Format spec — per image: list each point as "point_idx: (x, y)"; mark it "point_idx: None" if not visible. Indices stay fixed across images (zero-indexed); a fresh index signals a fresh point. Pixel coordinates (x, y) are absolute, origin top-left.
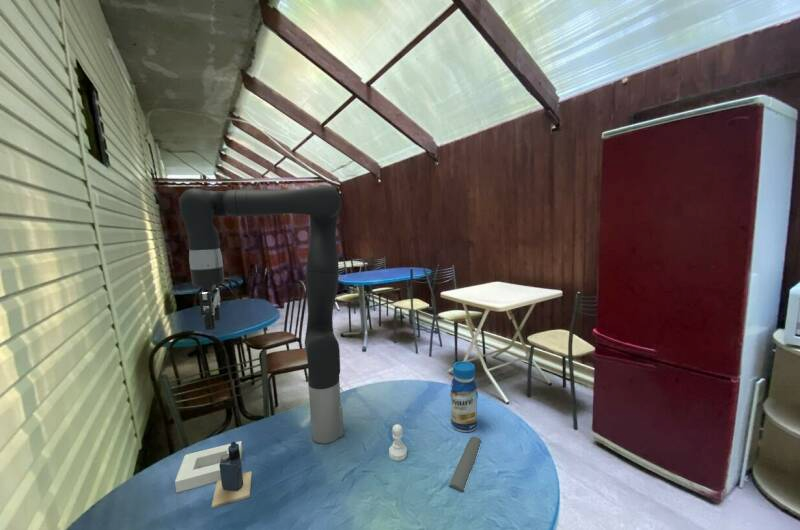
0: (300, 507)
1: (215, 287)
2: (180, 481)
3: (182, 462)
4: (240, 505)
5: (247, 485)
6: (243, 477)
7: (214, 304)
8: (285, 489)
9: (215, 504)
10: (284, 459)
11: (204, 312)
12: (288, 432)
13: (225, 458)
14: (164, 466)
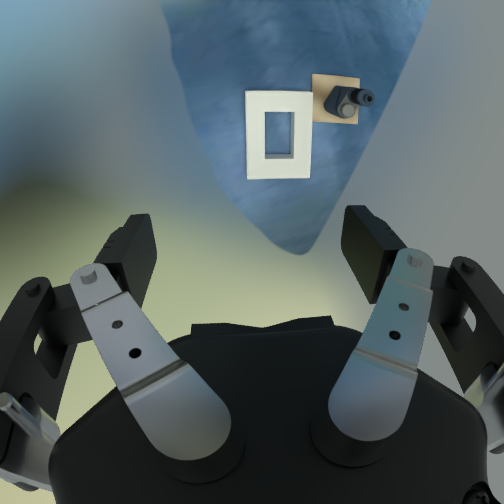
0: (398, 27)
1: (132, 485)
2: (309, 170)
3: (266, 178)
4: None
5: (341, 80)
6: (321, 85)
7: (428, 300)
8: (364, 34)
9: (356, 119)
10: (299, 25)
11: (466, 310)
12: (222, 16)
13: (353, 110)
14: (237, 203)
